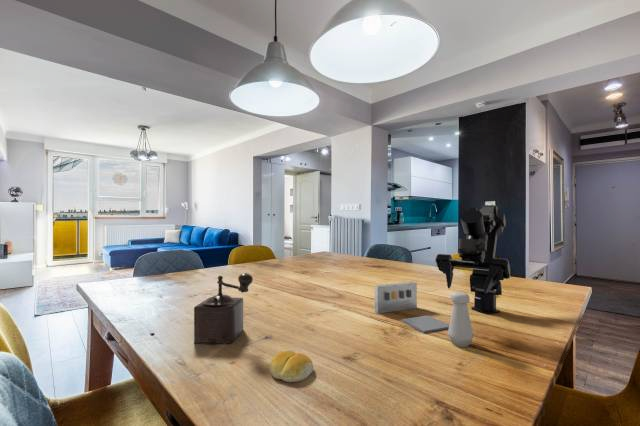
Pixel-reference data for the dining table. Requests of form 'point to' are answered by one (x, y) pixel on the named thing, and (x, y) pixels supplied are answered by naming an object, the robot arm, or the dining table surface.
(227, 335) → the manual coffee grinder
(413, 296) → the breaker panel
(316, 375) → the dining table surface
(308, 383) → the dining table surface
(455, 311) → the salt shaker
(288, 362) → the bread roll
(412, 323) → the slate pad
